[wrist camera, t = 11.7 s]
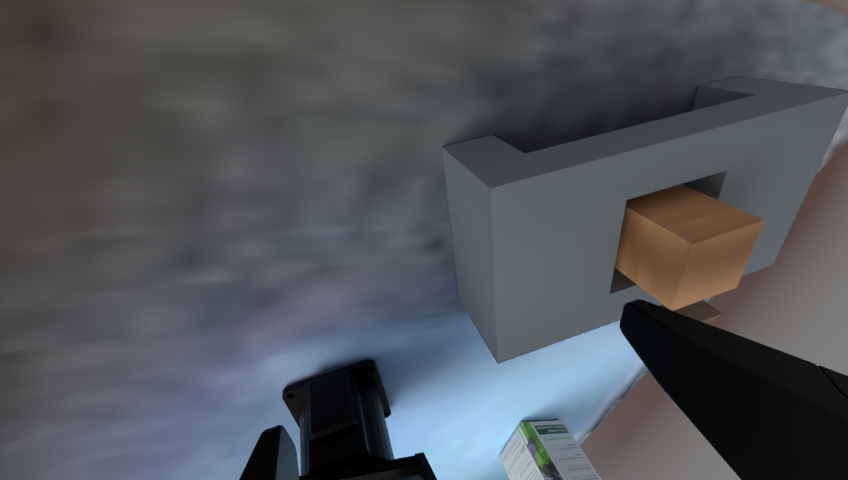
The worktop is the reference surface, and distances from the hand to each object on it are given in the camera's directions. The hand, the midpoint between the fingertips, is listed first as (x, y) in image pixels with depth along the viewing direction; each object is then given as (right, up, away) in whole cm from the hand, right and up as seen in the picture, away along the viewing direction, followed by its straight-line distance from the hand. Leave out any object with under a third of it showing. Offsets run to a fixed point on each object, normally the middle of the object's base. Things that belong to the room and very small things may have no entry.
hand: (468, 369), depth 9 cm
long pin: (+10, +6, +16) cm, 20 cm away
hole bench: (+10, +6, +16) cm, 20 cm away
